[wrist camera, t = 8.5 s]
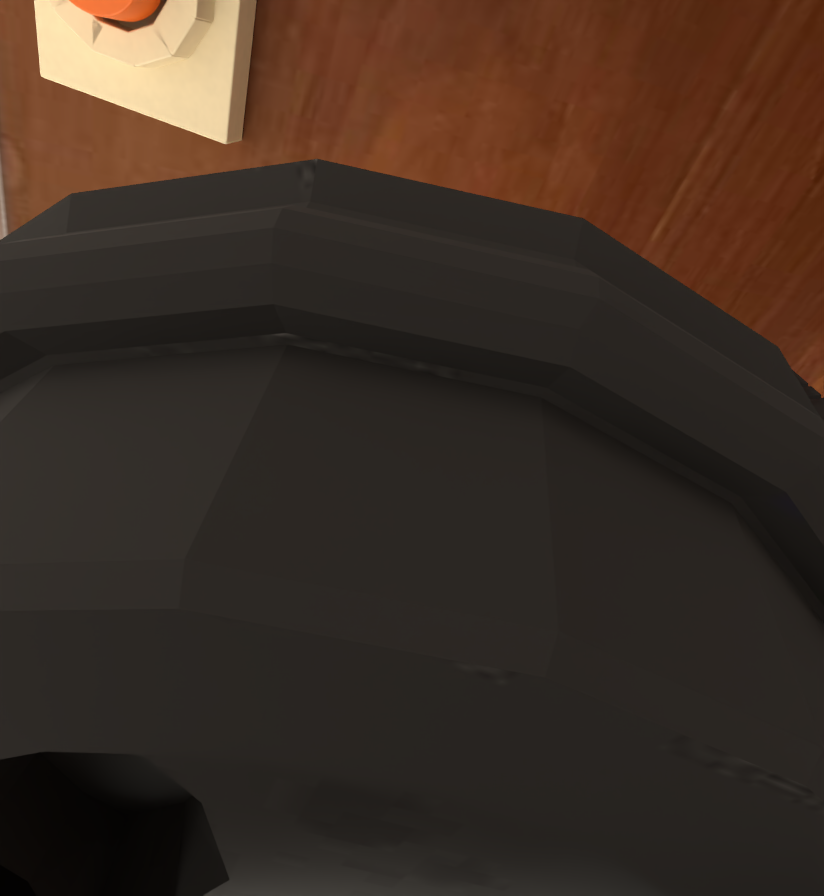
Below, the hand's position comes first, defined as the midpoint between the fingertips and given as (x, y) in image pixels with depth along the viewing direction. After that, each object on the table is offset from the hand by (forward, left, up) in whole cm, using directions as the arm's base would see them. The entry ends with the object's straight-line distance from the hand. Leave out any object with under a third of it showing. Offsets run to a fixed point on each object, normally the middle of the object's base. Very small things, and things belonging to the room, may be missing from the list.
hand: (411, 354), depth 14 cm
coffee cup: (0, 0, -3) cm, 3 cm away
